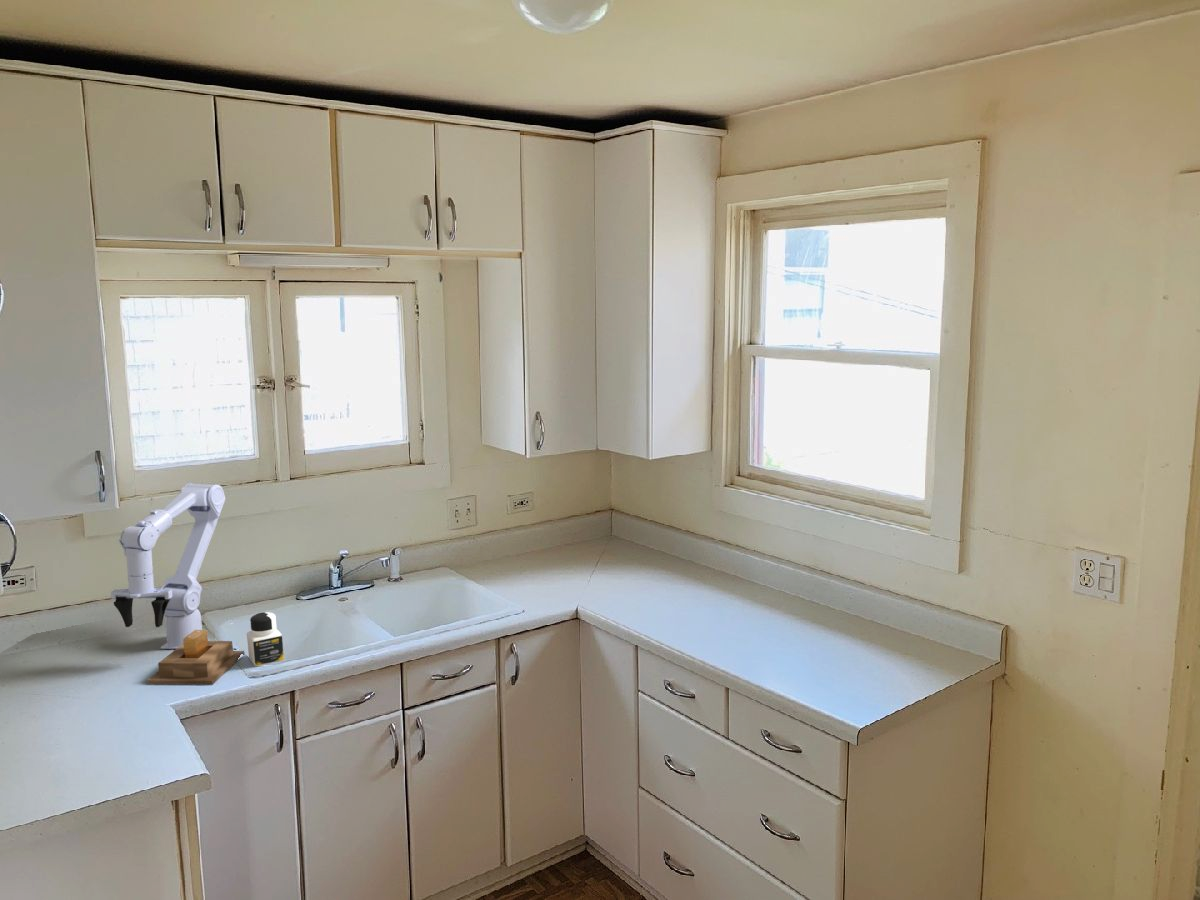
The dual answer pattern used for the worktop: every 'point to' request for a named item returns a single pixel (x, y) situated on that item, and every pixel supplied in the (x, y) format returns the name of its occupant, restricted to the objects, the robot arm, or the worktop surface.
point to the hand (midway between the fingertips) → (144, 625)
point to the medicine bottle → (264, 640)
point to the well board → (196, 665)
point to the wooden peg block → (196, 644)
